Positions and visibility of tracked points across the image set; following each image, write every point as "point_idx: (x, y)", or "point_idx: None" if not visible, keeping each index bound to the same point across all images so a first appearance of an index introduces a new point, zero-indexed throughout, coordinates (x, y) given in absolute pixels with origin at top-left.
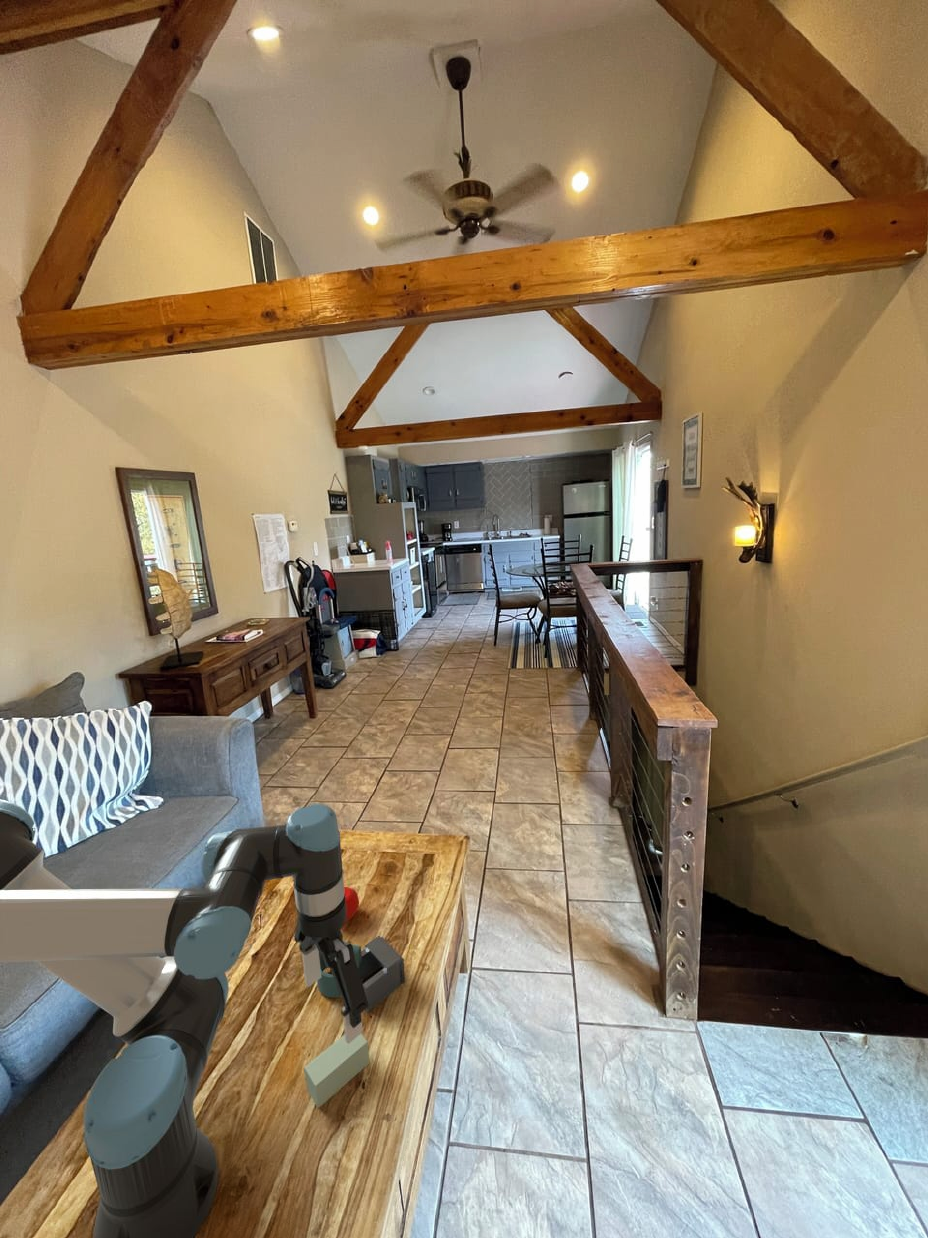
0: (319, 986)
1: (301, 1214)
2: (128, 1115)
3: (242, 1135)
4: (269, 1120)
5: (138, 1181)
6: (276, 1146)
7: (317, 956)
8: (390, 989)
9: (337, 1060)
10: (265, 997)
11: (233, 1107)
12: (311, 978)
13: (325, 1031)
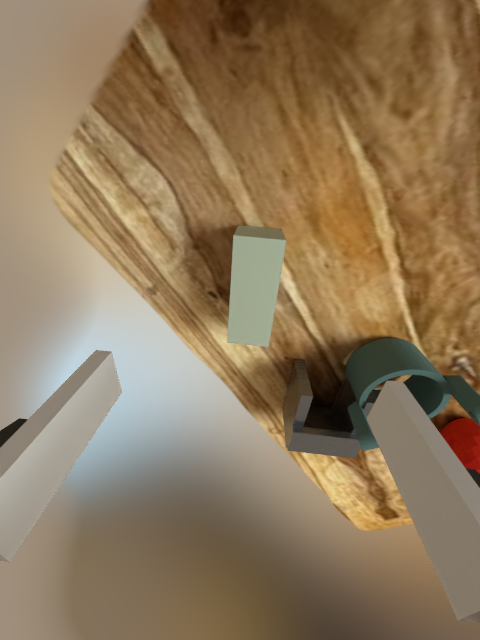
0: (402, 345)
1: (115, 104)
2: None
3: (321, 73)
4: (295, 142)
5: None
6: (243, 127)
7: (425, 537)
8: (287, 396)
9: (241, 292)
10: None
11: (392, 86)
12: (392, 416)
13: (332, 305)
